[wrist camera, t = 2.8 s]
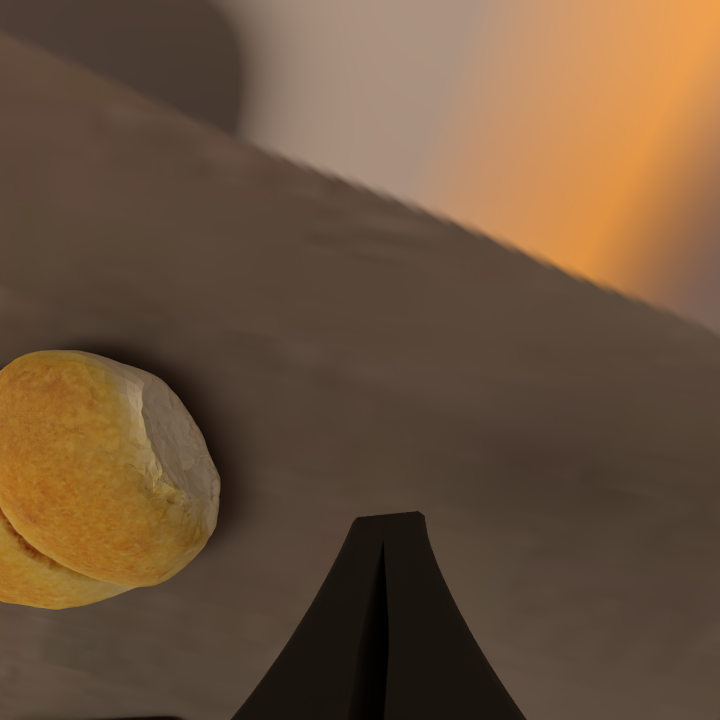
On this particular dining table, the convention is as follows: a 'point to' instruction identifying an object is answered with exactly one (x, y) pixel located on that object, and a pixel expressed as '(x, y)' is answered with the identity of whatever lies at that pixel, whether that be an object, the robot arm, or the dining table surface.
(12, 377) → the bread roll
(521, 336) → the dining table surface
